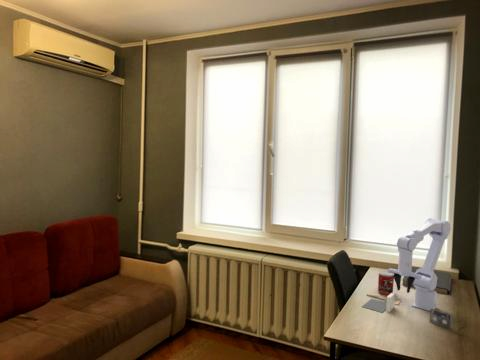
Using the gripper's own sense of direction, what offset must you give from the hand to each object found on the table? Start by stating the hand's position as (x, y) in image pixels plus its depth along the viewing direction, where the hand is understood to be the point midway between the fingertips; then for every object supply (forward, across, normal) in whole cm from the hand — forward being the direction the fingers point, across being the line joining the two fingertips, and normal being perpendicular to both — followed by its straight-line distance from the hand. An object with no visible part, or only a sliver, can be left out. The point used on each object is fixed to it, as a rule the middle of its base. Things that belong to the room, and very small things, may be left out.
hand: (403, 291), depth 175 cm
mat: (+10, -12, 0) cm, 16 cm away
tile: (+10, -6, 0) cm, 12 cm away
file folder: (+11, -2, +58) cm, 59 cm away
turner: (+10, -12, +10) cm, 19 cm away
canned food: (+11, -14, +21) cm, 28 cm away
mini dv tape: (+11, +16, -2) cm, 20 cm away
